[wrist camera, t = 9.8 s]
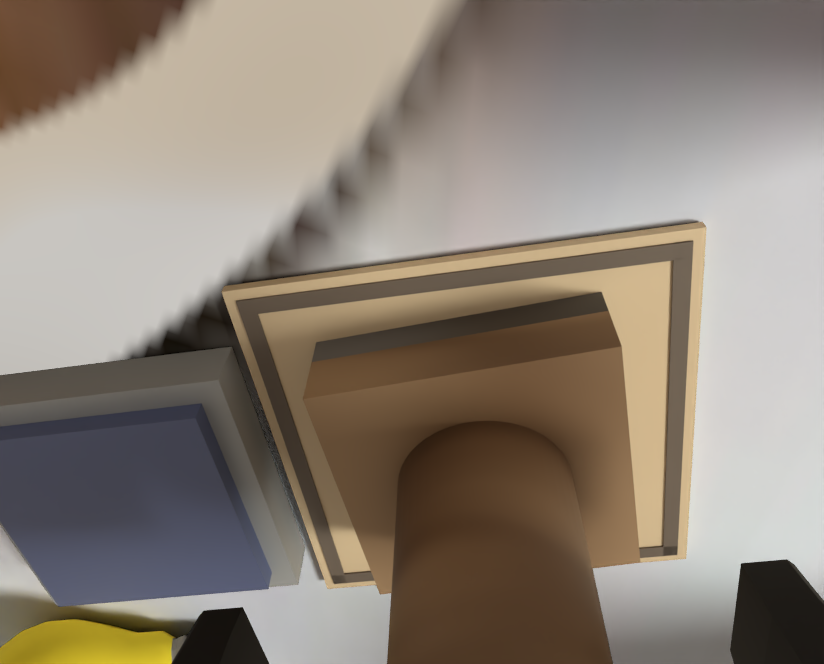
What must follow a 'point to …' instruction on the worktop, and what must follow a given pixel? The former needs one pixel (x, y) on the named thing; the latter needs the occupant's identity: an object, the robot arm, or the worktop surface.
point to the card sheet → (477, 293)
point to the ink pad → (143, 481)
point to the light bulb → (89, 645)
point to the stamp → (485, 477)
